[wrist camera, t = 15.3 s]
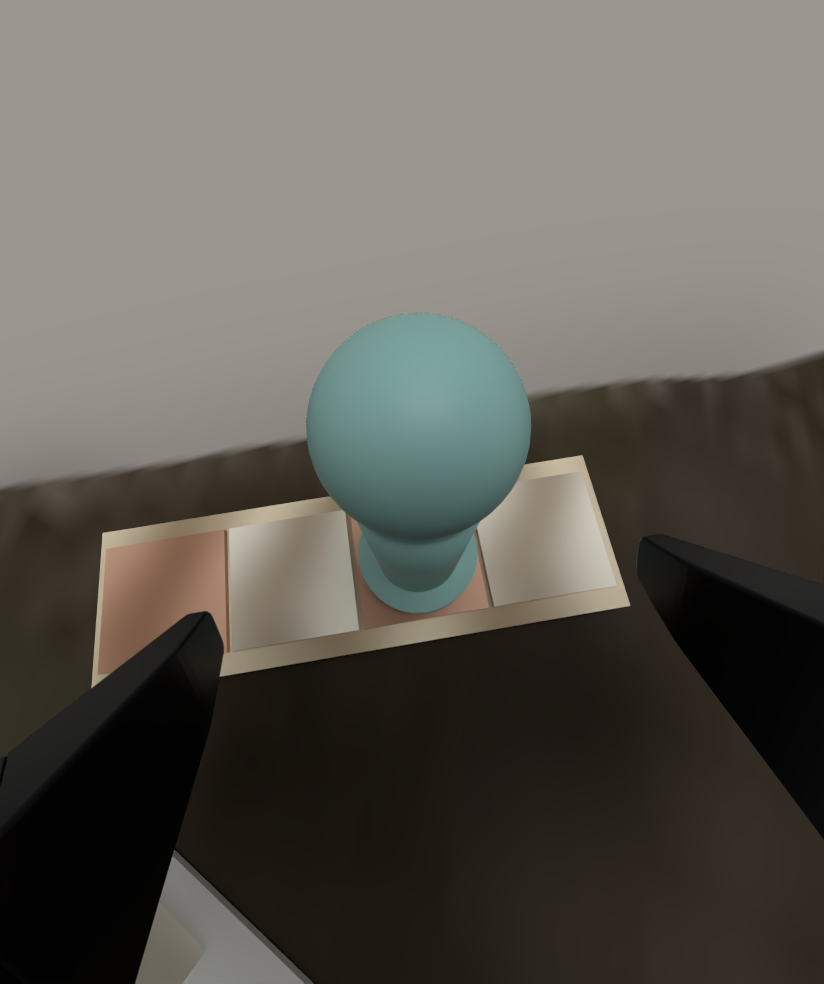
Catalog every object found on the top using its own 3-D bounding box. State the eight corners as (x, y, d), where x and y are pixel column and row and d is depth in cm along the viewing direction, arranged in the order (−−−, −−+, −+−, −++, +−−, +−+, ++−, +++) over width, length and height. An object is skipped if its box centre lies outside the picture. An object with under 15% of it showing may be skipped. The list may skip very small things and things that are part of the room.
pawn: (496, 563, 17) (685, 385, 5) (410, 639, 16) (390, 640, 4) (424, 482, 18) (437, 178, 6) (340, 549, 17) (164, 347, 5)
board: (573, 466, 20) (584, 452, 19) (617, 608, 18) (633, 605, 17) (121, 539, 20) (97, 531, 18) (112, 695, 17) (85, 699, 16)
